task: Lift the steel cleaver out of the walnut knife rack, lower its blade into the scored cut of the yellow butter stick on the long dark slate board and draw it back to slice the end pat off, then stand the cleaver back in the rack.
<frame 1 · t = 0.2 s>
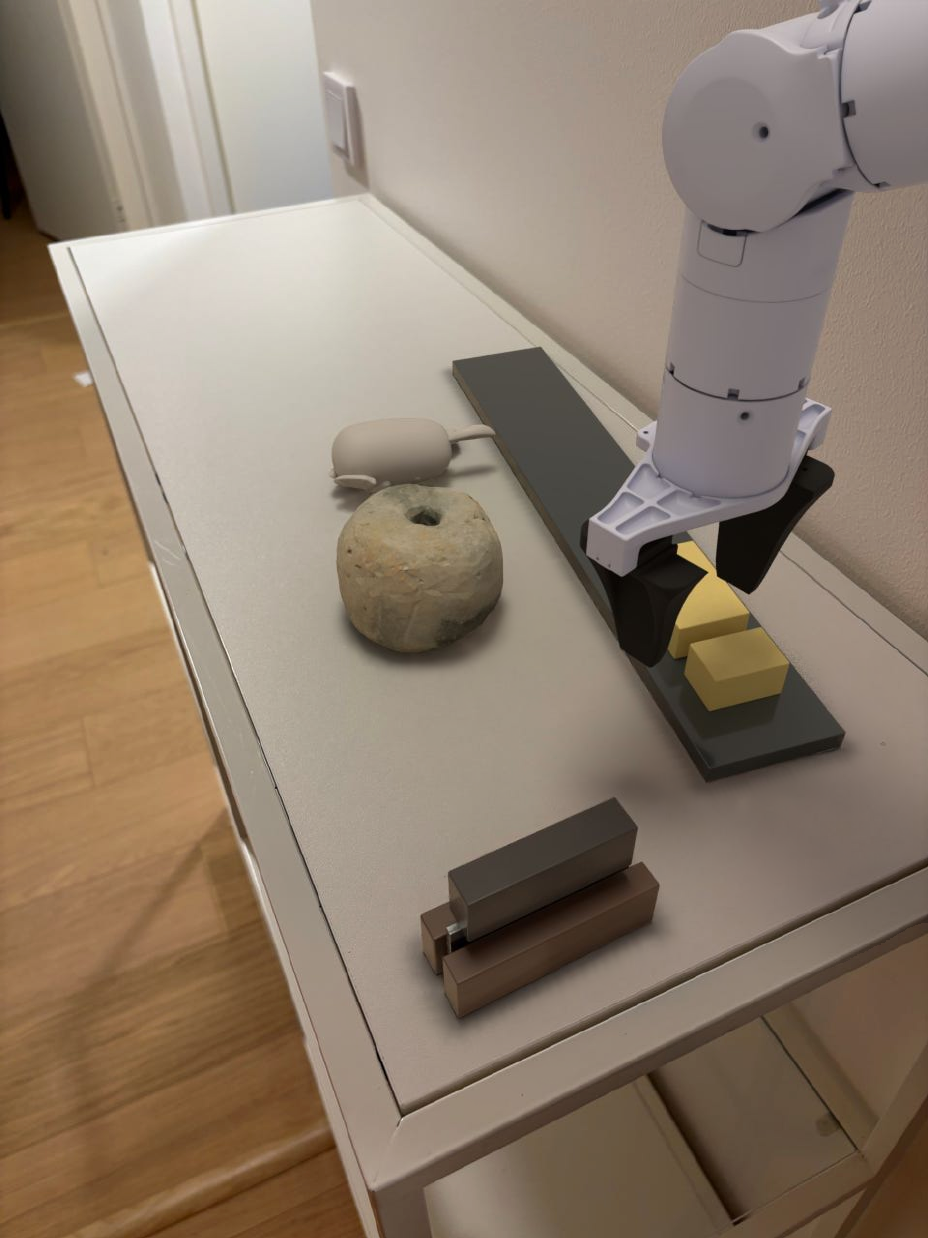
hand: (689, 617, 48), 8 cm above the table, tool pointing down, fingers open, 7 cm apart
stone: (424, 611, 61), on the table
knife rack: (538, 935, 44), on the table
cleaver: (538, 935, 44), on the table
butter stick: (681, 612, 58), point 1 cm above the table, touching butter board
butter pat: (731, 684, 54), point 1 cm above the table, touching butter board
butter board: (602, 517, 68), on the table
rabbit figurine: (412, 476, 72), on the table
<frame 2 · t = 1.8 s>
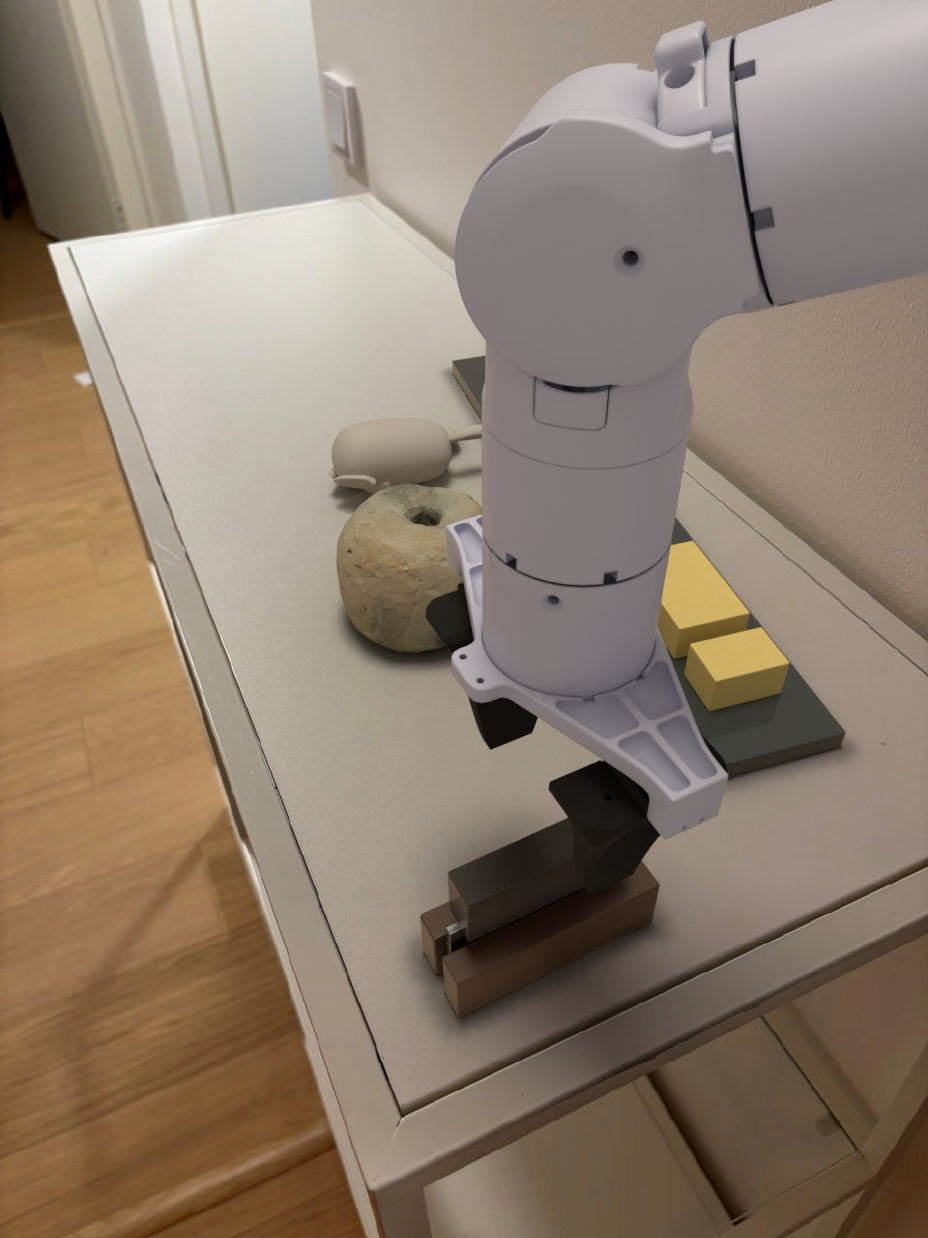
hand: (554, 802, 39), 9 cm above the table, tool pointing down, fingers open, 7 cm apart
nothing on the table moved.
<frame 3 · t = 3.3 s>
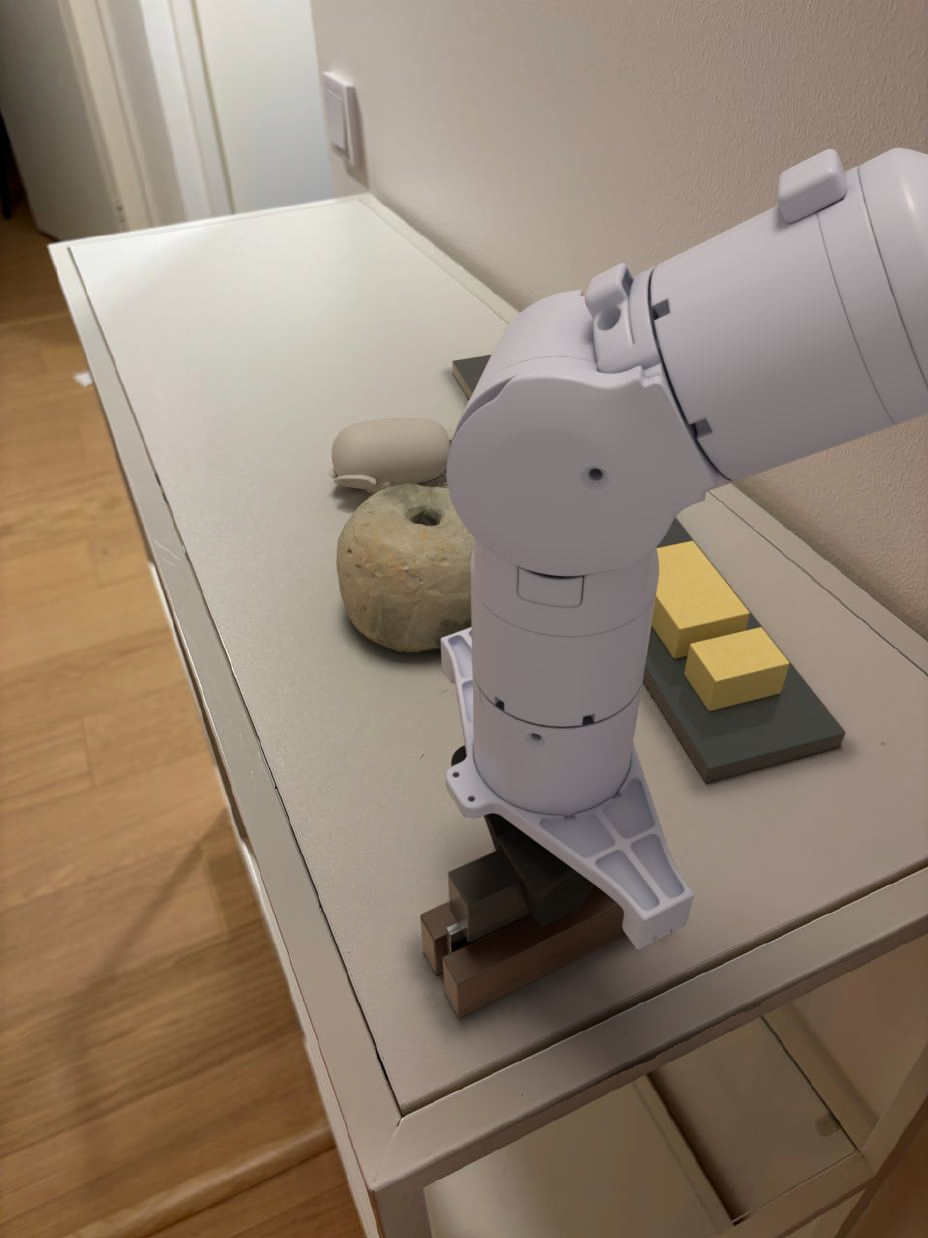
hand: (541, 889, 42), 4 cm above the table, tool pointing down, fingers closed on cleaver, 2 cm apart
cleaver: (538, 935, 44), on the table, touching gripper
everything else where it was.
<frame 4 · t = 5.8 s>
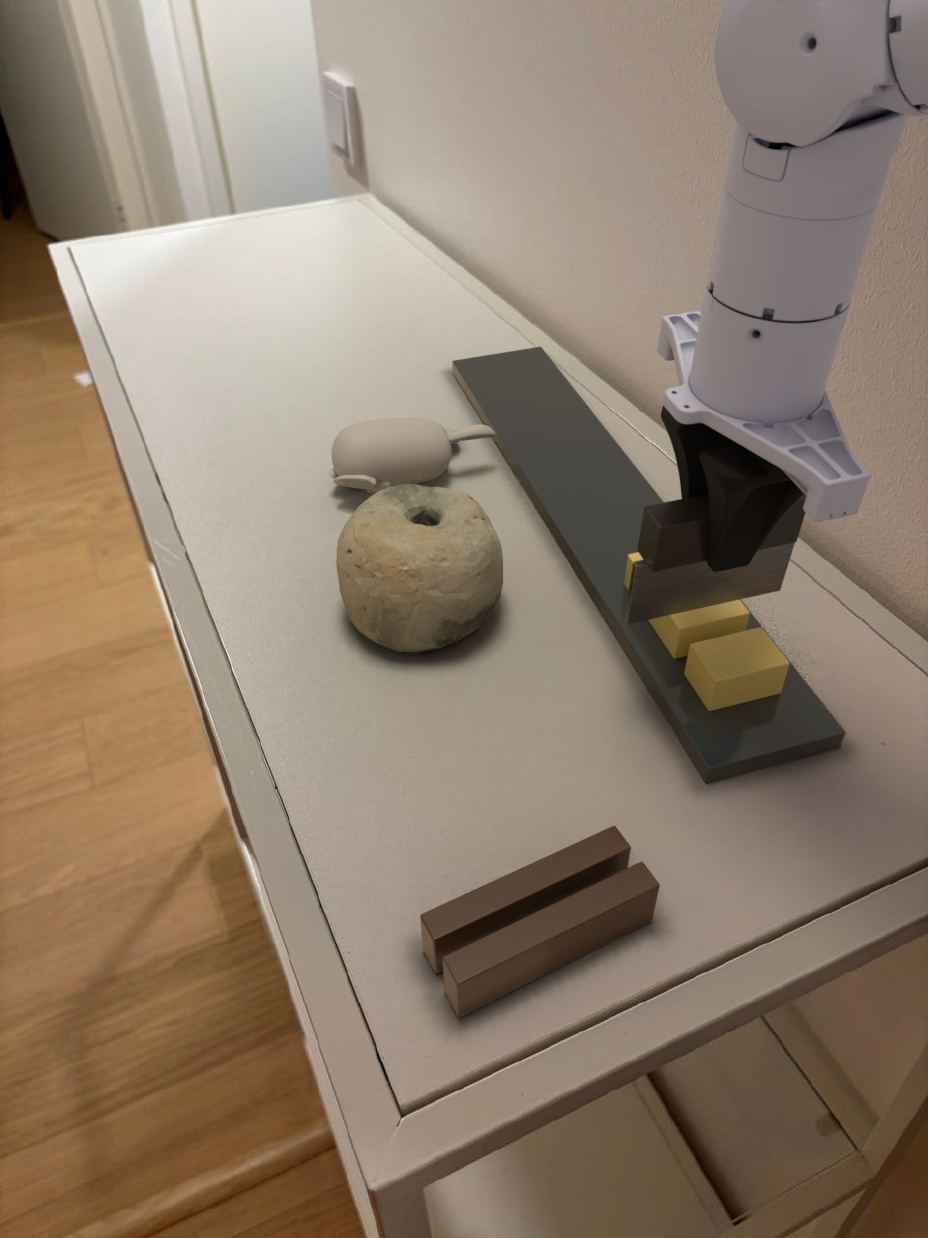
hand: (716, 549, 49), 10 cm above the table, tool pointing down, fingers closed on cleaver
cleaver: (703, 605, 52), point 6 cm above the table, touching gripper
everything else where it was.
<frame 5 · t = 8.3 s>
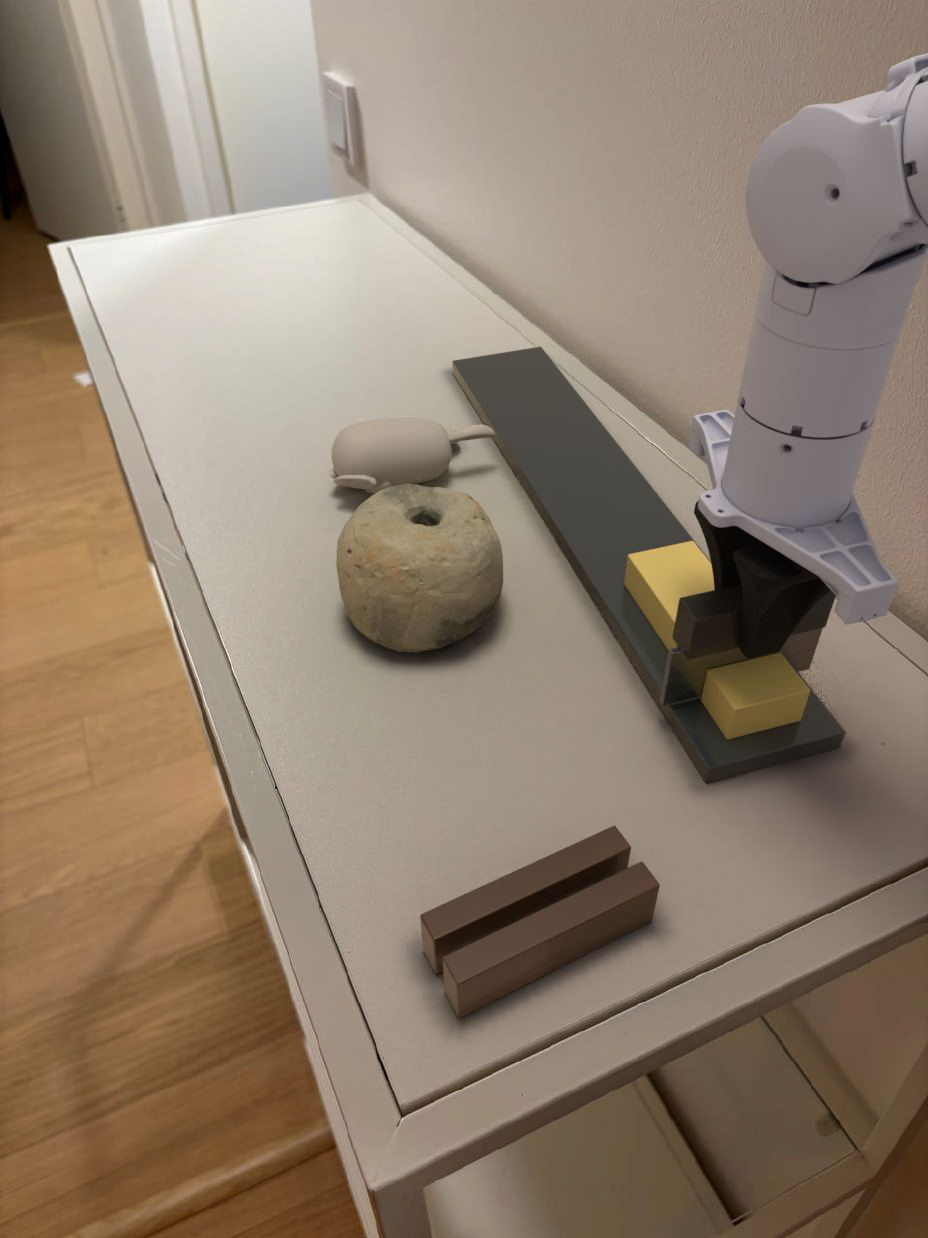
hand: (748, 634, 51), 5 cm above the table, tool pointing down, fingers closed on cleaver, 2 cm apart
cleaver: (735, 685, 54), point 1 cm above the table, touching butter pat, gripper
butter pat: (750, 710, 53), point 1 cm above the table, touching butter board, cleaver
everything else where it was.
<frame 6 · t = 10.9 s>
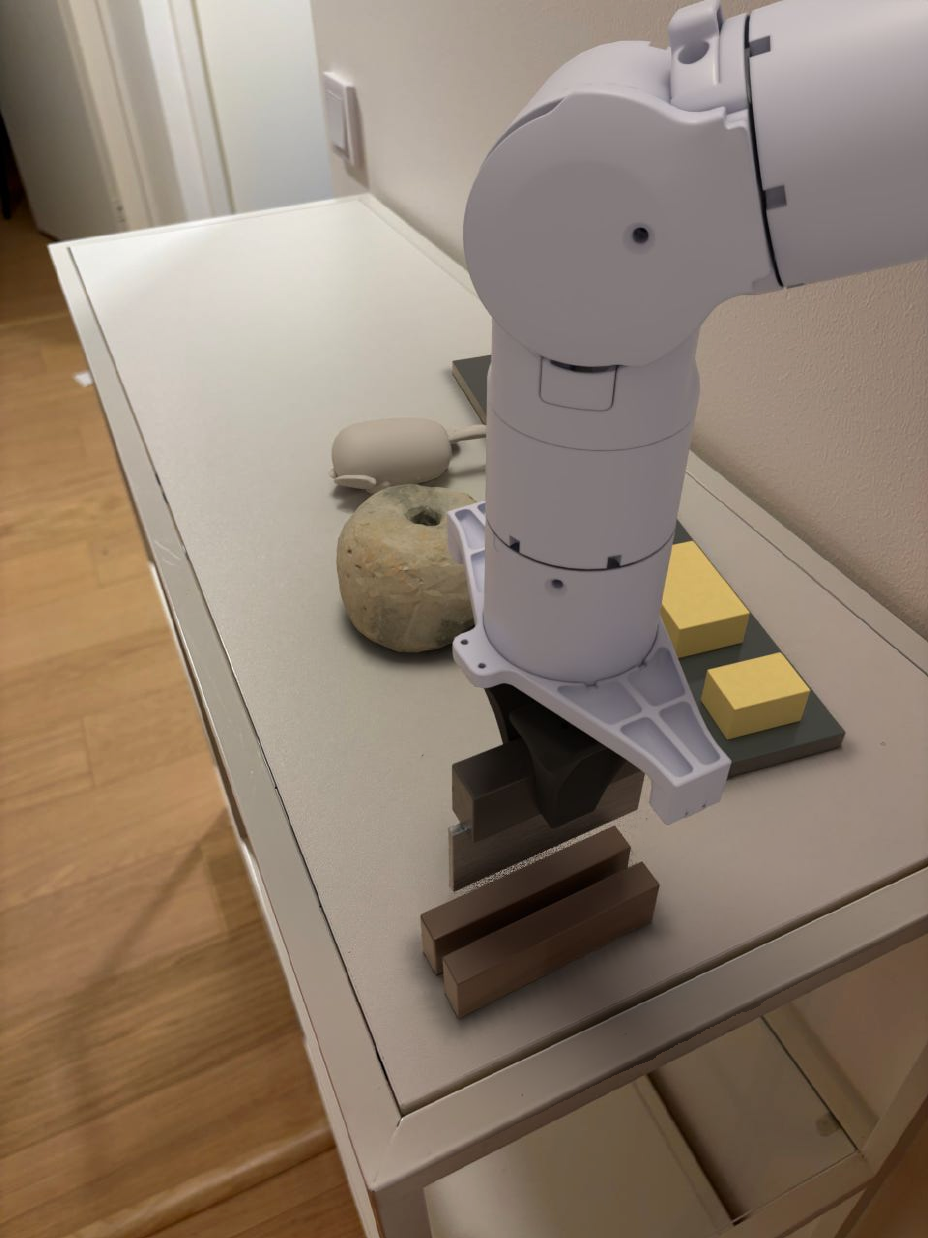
hand: (553, 790, 38), 10 cm above the table, tool pointing down, fingers closed on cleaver
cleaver: (546, 846, 41), point 6 cm above the table, touching gripper
butter pat: (750, 710, 53), point 1 cm above the table, touching butter board
everything else where it was.
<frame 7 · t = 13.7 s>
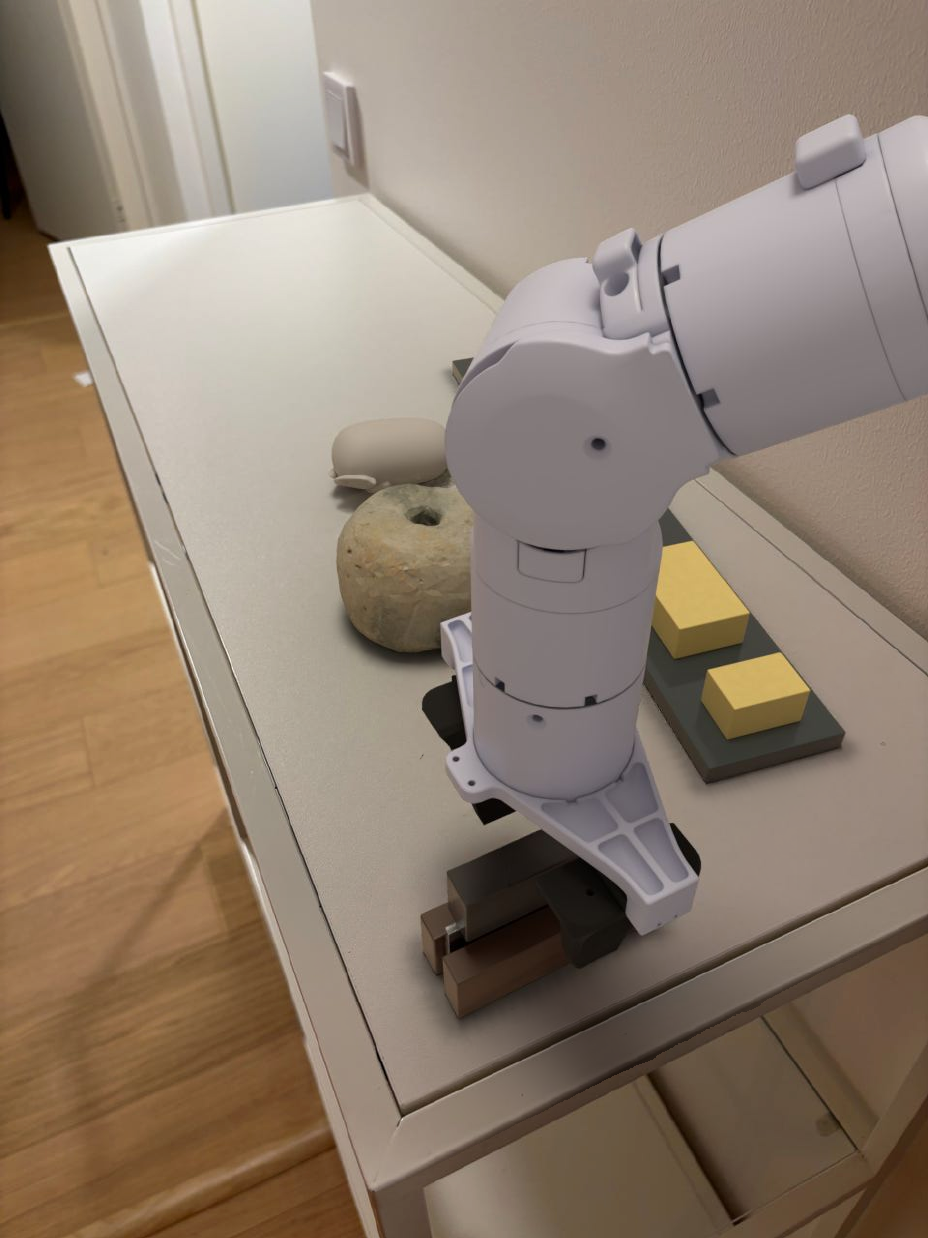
hand: (543, 877, 41), 5 cm above the table, tool pointing down, fingers open, 7 cm apart
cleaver: (537, 935, 44), on the table
everything else where it was.
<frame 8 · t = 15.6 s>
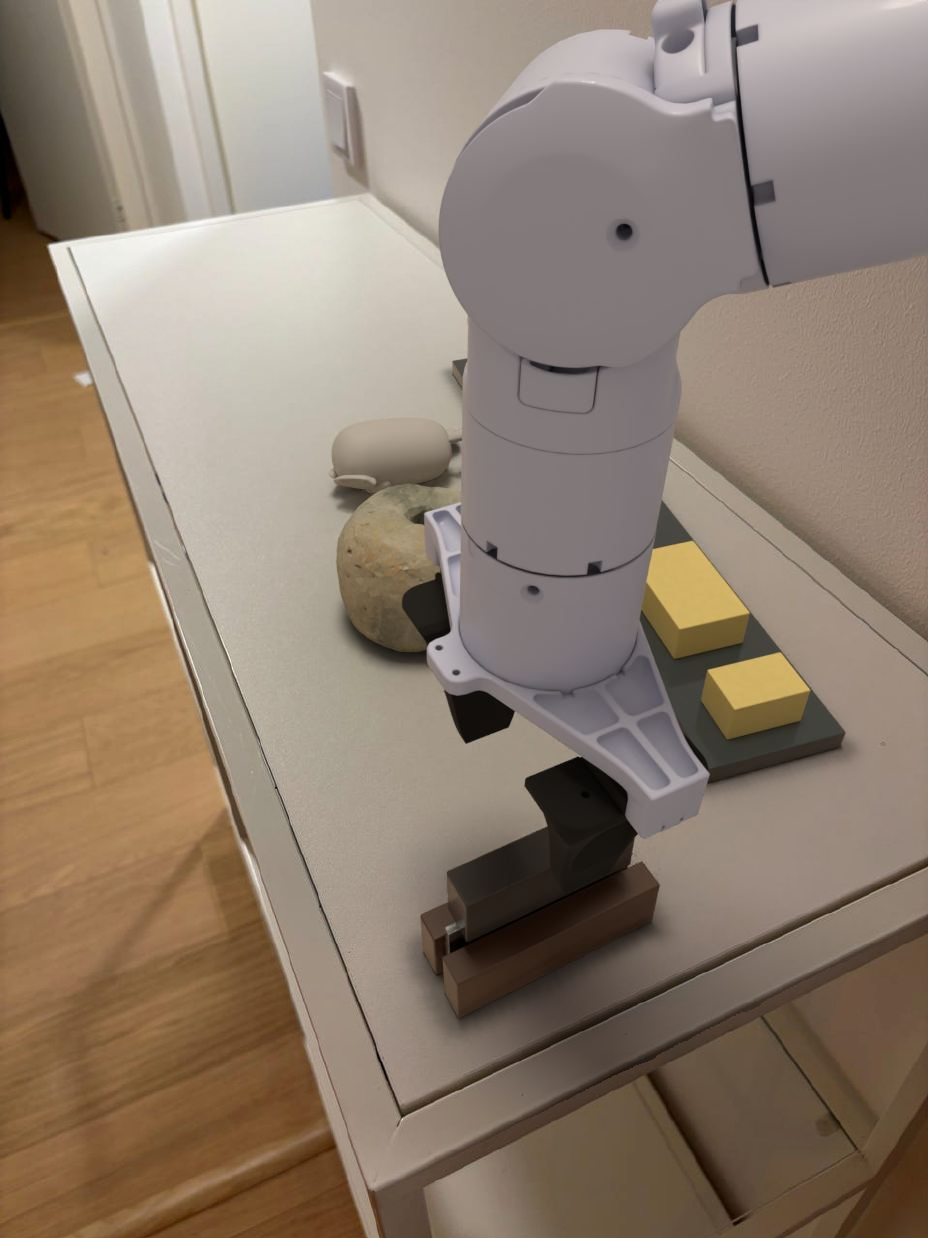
hand: (530, 798, 38), 10 cm above the table, tool pointing down, fingers open, 7 cm apart
nothing on the table moved.
at the end: butter pat 0.1 cm from the target spot on the butter board, point 1.2 cm above the butter board's base; butter pat moved 2.1 cm from its start; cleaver 0.0 cm off-centre on the knife rack, point 0.0 cm above the knife rack's base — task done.
